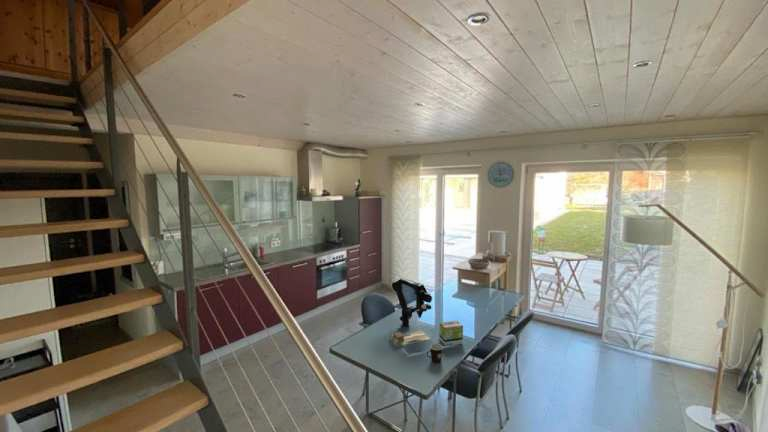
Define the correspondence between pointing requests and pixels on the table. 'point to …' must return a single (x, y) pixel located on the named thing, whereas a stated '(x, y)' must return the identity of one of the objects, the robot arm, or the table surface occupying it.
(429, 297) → the robot arm
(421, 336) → the trap board
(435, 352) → the coffee mug
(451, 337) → the tea box
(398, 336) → the walnut block
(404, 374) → the table surface
